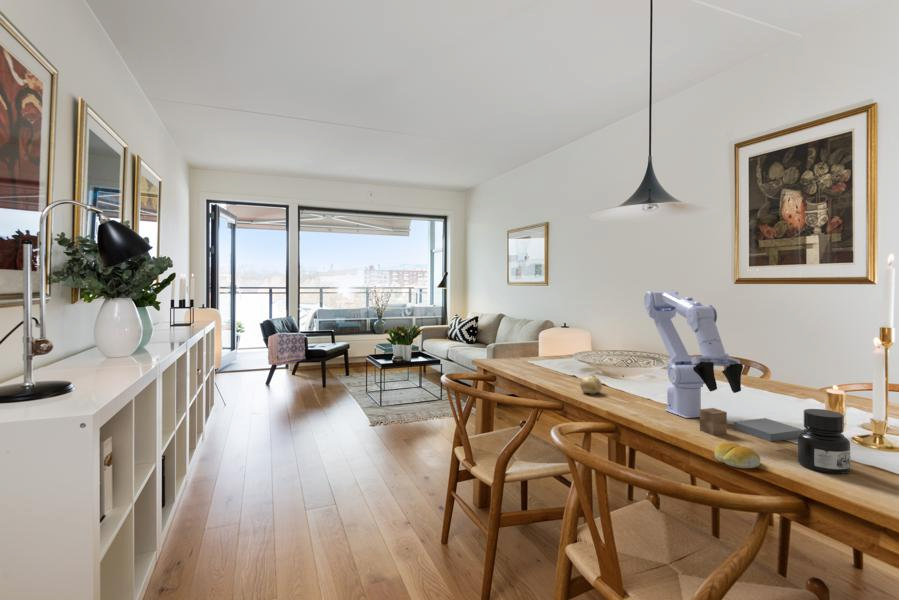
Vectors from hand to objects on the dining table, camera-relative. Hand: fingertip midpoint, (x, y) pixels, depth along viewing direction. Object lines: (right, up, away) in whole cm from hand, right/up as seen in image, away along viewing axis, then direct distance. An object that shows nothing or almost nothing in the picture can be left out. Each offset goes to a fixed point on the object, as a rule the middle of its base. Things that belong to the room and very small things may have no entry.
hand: (725, 391), depth 121 cm
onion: (-20, -11, +50) cm, 55 cm away
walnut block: (-2, -12, +3) cm, 12 cm away
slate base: (+12, -11, +1) cm, 17 cm away
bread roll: (-8, -13, -17) cm, 23 cm away
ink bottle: (+8, -13, -22) cm, 26 cm away
